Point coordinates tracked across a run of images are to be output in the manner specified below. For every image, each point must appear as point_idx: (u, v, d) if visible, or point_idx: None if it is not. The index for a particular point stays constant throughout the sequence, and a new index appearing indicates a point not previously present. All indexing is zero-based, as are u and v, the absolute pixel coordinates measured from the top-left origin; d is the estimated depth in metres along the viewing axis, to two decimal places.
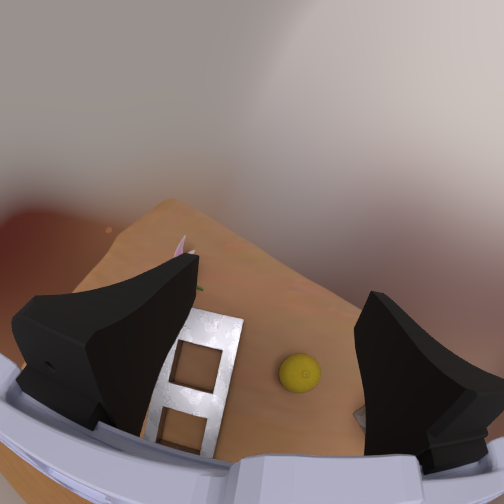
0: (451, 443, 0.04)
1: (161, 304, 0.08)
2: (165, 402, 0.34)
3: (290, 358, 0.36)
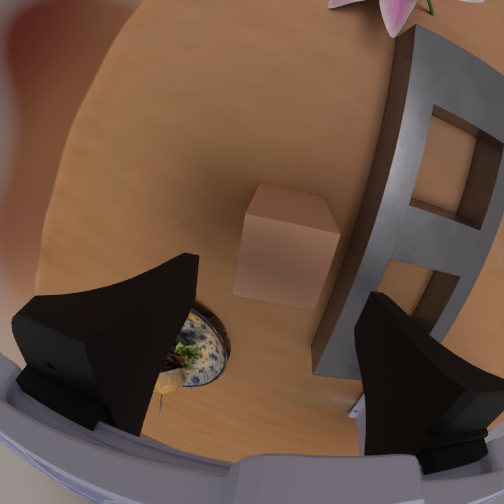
0: (451, 443, 0.04)
1: (161, 304, 0.08)
2: (396, 251, 0.16)
3: None
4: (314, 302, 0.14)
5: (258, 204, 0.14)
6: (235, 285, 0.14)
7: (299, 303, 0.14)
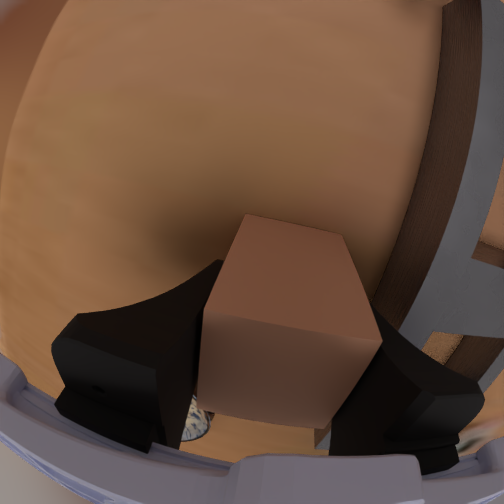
0: (413, 450, 0.05)
1: None
2: (443, 320, 0.10)
3: None
4: (324, 421, 0.08)
5: (235, 273, 0.08)
6: (200, 400, 0.08)
7: (302, 422, 0.08)
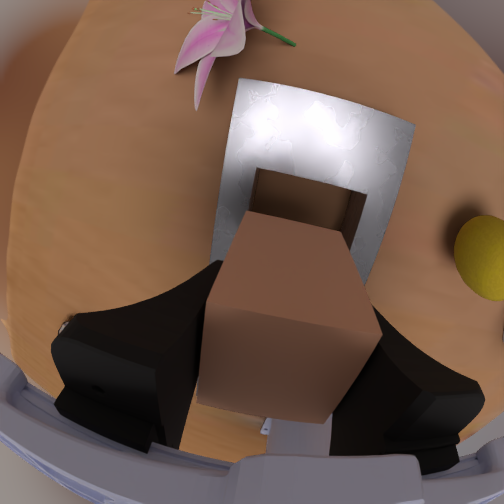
0: (413, 449, 0.05)
1: (204, 315, 0.08)
2: None
3: (494, 234, 0.13)
4: (324, 416, 0.08)
5: (236, 267, 0.08)
6: (200, 394, 0.08)
7: (302, 417, 0.08)
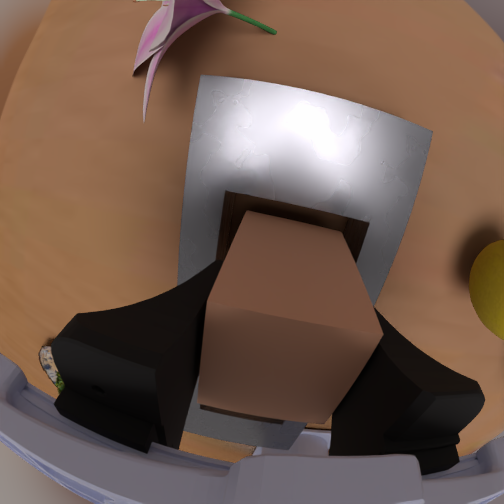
0: (413, 449, 0.05)
1: (204, 315, 0.08)
2: None
3: None
4: (325, 416, 0.08)
5: (237, 267, 0.08)
6: (201, 395, 0.08)
7: (302, 417, 0.08)
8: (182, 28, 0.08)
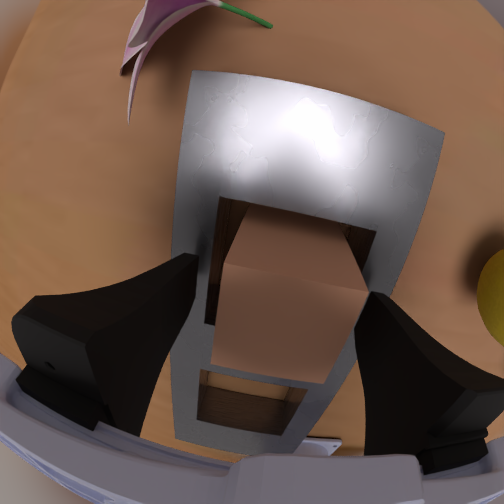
0: (451, 443, 0.04)
1: (161, 304, 0.08)
2: (205, 363, 0.15)
3: None
4: (323, 374, 0.10)
5: (246, 240, 0.10)
6: (214, 354, 0.10)
7: (304, 376, 0.10)
8: (168, 22, 0.07)
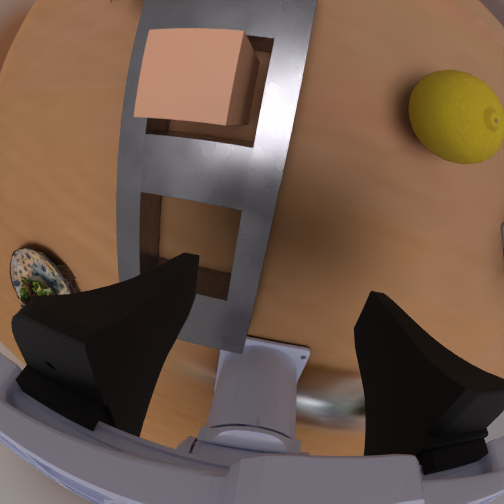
0: (451, 443, 0.04)
1: (161, 304, 0.08)
2: (145, 182, 0.16)
3: (444, 73, 0.10)
4: (223, 112, 0.11)
5: None
6: (137, 105, 0.11)
7: (206, 115, 0.11)
8: None
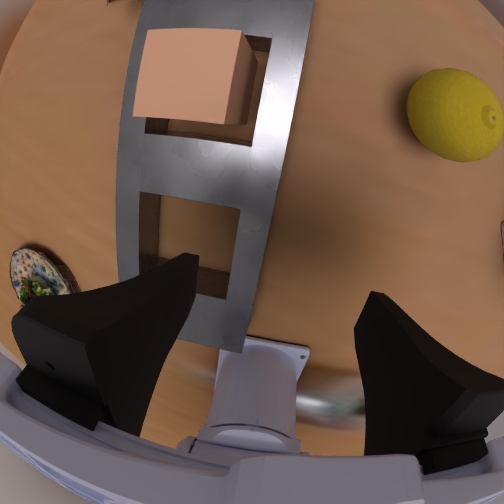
0: (451, 443, 0.04)
1: (161, 304, 0.08)
2: (144, 182, 0.16)
3: (442, 72, 0.10)
4: (222, 112, 0.11)
5: None
6: (136, 104, 0.11)
7: (205, 115, 0.11)
8: None
